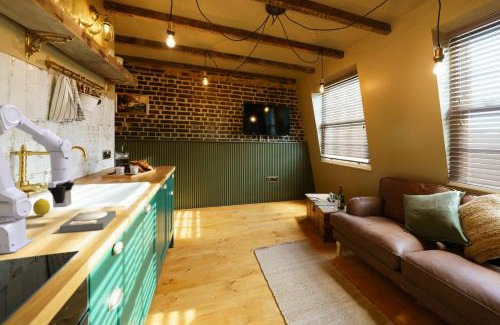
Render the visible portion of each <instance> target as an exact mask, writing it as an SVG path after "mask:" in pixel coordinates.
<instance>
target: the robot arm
mask: <svg viewBox="0 0 500 325" xmlns="http://www.w3.org/2000/svg"><path fill="white" fill-rule="evenodd" d="M13 128H16V129H18V130H20V131H21V132H24V133H26V134H28V135H30V136H31V139H32V141H34V142H36V143H38V144H39V145H41V146H42V147H43V148H44V149H45V151H46V152H47V153H48V154H49V160H50V172H51V173H50V174H51V175H50V176H51V180H50V181H49V182H48V181H47V190H48V191H49V193H50V194H51V195H52V199H53V198H54V200H55V203H56V204H58V203H63V197H64V191H65V190H71V191H72V189H73V187H74V185H75V182H73V181H74V178H73V176H71V174H70V173H71V172H70V159H69V158H70V157H71V151H72V149H73V146H72V144H71V142H70V141H69V140H68V139H66V138H61V137H60V136H59V135H58V134H55V133H54V132H53V131H51V129H50V128H47V127H39V126H38V125H36V124H35V123H34V122H32V121H31V120H30V119H29V118H28V117H26V116H25V115H24V113H23V111H22V110H21V109H19V108H17V106H15V105H13V104H0V138H1V136H3V135H4V134H6V133H8V132H10V130H12V129H13ZM32 209H33V205H32V201H31V200H30V199H29V198H28V197H27V195H26V193H25V192H24V191H23V190H21V189H19V188H17V187H16V185H15V182H14V179H13V176H12V174H11V171H10V166H9V165H8V162H7V159H6V156H5V152H4V150H3V146H2V143H1V142H0V255H1V254H2V255H3V254H12V253H16V252H18V251H19V250H20V249H22V248H23V247H25V246H26V245H28V244H30V243H31V242H33V241H34V240H35V238H34V237H31V238H27V237H28V235H27V226H26V225H27V223H26V218H28V216H29V214H30V213H31V211H32Z"/></svg>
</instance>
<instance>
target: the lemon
mask: <svg viewBox="0 0 500 325" xmlns="http://www.w3.org/2000/svg"><path fill="white" fill-rule="evenodd" d="M50 210H51V205H50V202H49V201H48V200H47V199H45V198H39V199H37V200H36V201H35V202H34V203H33V205H32V211H33V212H34V214H35V215H37V216H40V217H44V216H45V215H47V214H48V213H49V212H50Z"/></svg>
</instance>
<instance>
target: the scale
mask: <svg viewBox="0 0 500 325" xmlns="http://www.w3.org/2000/svg"><path fill="white" fill-rule="evenodd" d="M116 217H117V211H116V210H110V211H109V210H108V211H104V210H94V211H86V212H78V213H77V214H76V215H75V216H72V217H71V218H70V219H68V220H67V221H65V222H64V223H63V224H61V225H59V233H62V234H63V233H72V232H73V233H75V232H86V231H98V230H101V231H102V230H105V229H106V227H107V226H108V225H110V223H111V222H113V220H114V219H115V218H116Z"/></svg>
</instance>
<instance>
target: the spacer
mask: <svg viewBox="0 0 500 325" xmlns="http://www.w3.org/2000/svg"><path fill="white" fill-rule="evenodd" d="M71 192H72V189H71V190H65V191H64V197H63V203H58V204H56V203H55V200H54V198H53V197H52V208H66V207H68V206H70V205H72V203H73V202H72V193H71Z"/></svg>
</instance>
